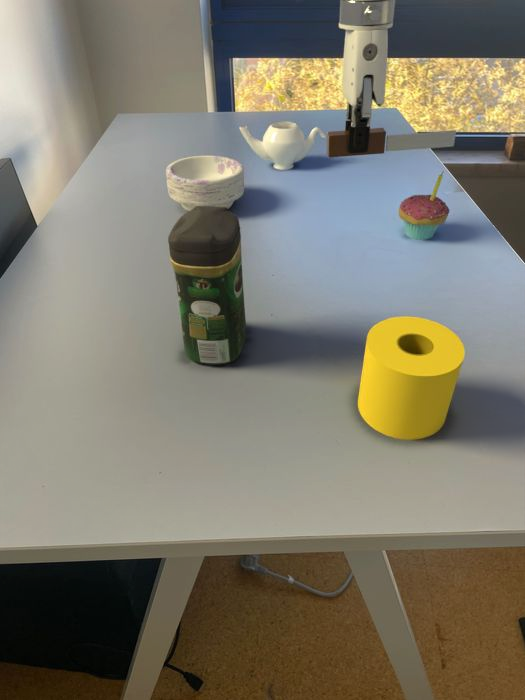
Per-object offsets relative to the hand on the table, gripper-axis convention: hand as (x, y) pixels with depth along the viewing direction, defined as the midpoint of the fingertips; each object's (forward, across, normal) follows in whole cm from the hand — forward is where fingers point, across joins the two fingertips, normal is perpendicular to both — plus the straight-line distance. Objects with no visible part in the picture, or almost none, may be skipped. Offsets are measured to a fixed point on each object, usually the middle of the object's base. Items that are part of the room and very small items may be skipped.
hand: (355, 148), depth 83 cm
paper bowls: (+16, +16, +26) cm, 35 cm away
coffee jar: (+16, -30, +23) cm, 41 cm away
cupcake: (+16, 0, -13) cm, 21 cm away
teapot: (+16, +37, +9) cm, 41 cm away
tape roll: (+16, -43, +1) cm, 46 cm away
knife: (+1, 0, -5) cm, 5 cm away
